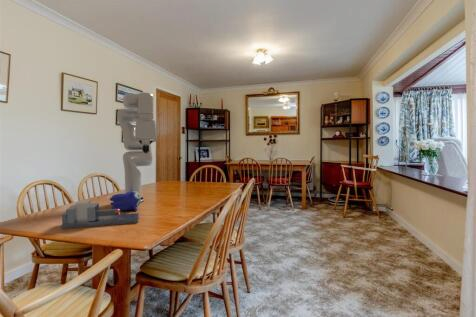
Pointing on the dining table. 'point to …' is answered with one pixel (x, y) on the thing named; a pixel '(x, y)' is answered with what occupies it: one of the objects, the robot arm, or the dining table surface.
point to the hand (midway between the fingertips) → (146, 153)
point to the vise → (70, 219)
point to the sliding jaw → (99, 212)
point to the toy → (126, 201)
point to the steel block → (81, 210)
